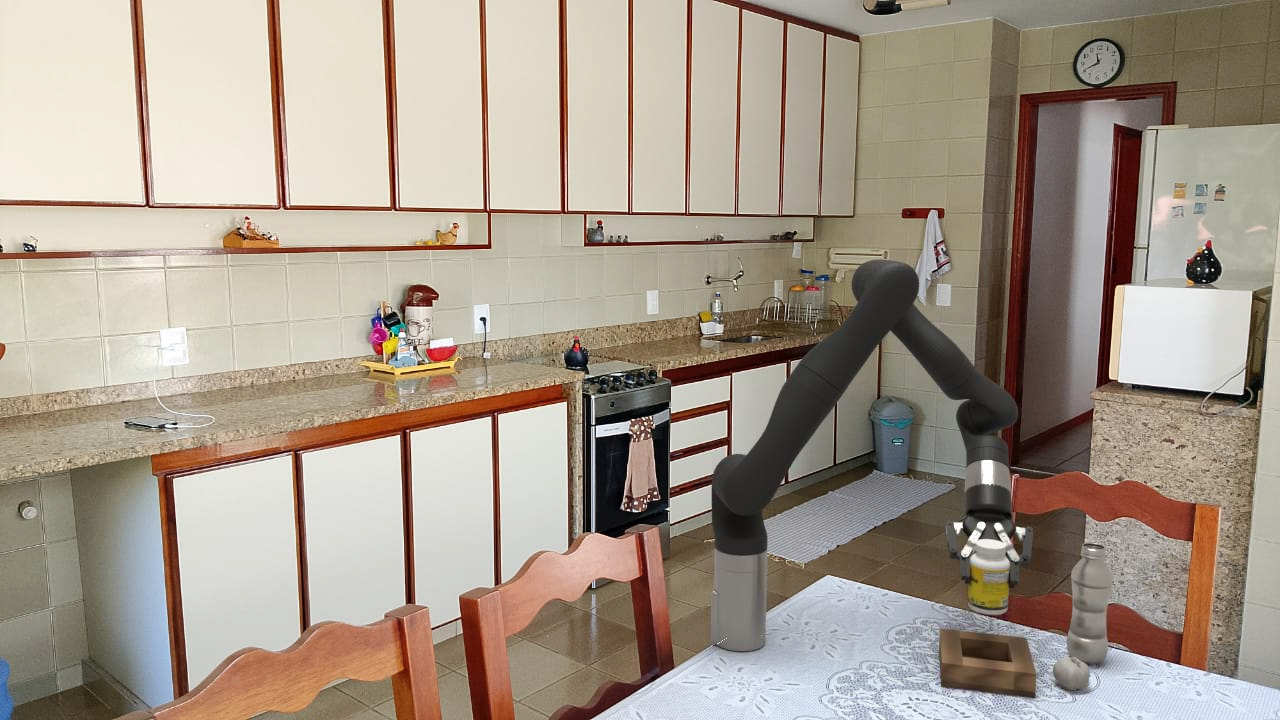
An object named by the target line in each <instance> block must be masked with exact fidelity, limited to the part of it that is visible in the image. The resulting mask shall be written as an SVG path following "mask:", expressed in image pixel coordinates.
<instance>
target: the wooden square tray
mask: <svg viewBox="0 0 1280 720" xmlns="http://www.w3.org/2000/svg"><path fill="white" fill-rule="evenodd" d="M938 641H939V642H938V657H939V659H938V660H939V672H940V673H939V677H940V687H942V688H948V689H949V688H951V689H958V690H966V691H975V692H980V693H983V692H984V693H990V694H998V695H1005V696H1006V695H1007V696H1015V697H1023V698H1030V699H1036V688H1037V671H1036V667H1035V665H1034V659H1033V656H1032V652H1031V650H1030V649H1031V648H1030V646H1029V642H1028V641H1029V640H1028V639H1027V637H1024V636H1015V635H1014V636H1013V635H1007V634H1006V635H1005V634H996V633H990V632H988V633H987V632H980V631H979V632H977V631H969V630H962V629H961V630H960V629H950V628H943V627H941V628H939V640H938Z"/></svg>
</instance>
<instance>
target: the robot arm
mask: <svg viewBox="0 0 1280 720" xmlns="http://www.w3.org/2000/svg"><path fill="white" fill-rule="evenodd" d="M919 278H920V277H919V275H918V273H917V271H916V270H915V269H914V267H912V266H911V265H910V264H908V263H906V262H901V261H897V260H889V259H871V260H867V261H865V262H863V263H862V264H860V265H859V266H858V267H857V268H856V269H855V271H854V273H853V275H852V278H851V292H852V294H853V297H854V298H855V300H856V302H857V303H856V305H855V306H854V308H853V309H852V311H851V312H850V313H849V314H848V316H847V317H846V318H845V320H844V321H843V322H842V323H841V324H840V325H839V326H838V327H837V328H836V329H835V330H833V331H832V332H831V333H829V334H828V335H827V336H826V337H824V338H823V339H822V340H821V341H819V342H818V343H817V344H816V345H815V346H814V347H812V348H811V349H810V350H809V351H808V352H807V353H806V354H805V355H804V356H803V357H802V358H801V360H800V361H798V364H797V365H796V366H795V367H794V369H793V370H792V372H791V373H790V375H788V377H787V379H786V380H785V381H784V384H783V385H782V386H781V389H780V391H779V393H778V395H777V398H776V400H775V402H774V404H773V408H772V411H771V415H770V417H769V419H768V422H767V424H766V427H765V429H764V430H763V432H762V434H761V436H760V437H759V438H758V440H757V441H756V443H755V444H754V445H753V446H752V447H751V449H750V450H749V451H748V453H747V454H743V453H742V454H741V453H734V454H733V453H732V454H730V455H727V456H725V457H723V458H722V459H721V460H720V461H719V462H718V463H717V465H716V466H715V468H714V469H713V474H712V477H711V525H712V527H711V528H712V532H713V536H714V537H713V538H714V567H713V568H714V569H713V570H714V572H713V573H714V574H713V575H714V576H713V579H714V580H713V582H714V583H713V589H712V590H711V595H710V597H711V598H710V599H711V600H710V601H711V602H710V605H711V606H710V645H714V646H718V647H720V648H722V649H725V650H729V651H732V652H733V651H735V652H751V651H755V650H759V649H761V648H762V647H764V646H765V644H766V635H767V628H766V627H767V589H768V584H767V583H768V582H767V581H768V579H767V578H768V533H767V529H766V526H765V522H764V518H763V517H764V516H763V510H764V509H766V507H767V506H768V505H769V504H770V502H771V501H772V500H773V498H774V496H775V495H776V493H777V491H778V490H779V488H780V486H781V484H782V483H783V480H784V479H785V477H786V476H787V474H788V472H789V471H790V469H791V467H792V465H793V463H794V462H795V460H796V459H797V457H798V455H799V454H800V452H802V451H803V449H804V448H805V446H806V445H807V444H808V443H809V441H810V440H811V439H812V437H813V436H814V435H815V433H816V431H817V430H818V429H819V427H820V426H821V425H822V423H824V420H825V419H826V418H827V417H828V416H829V414H830V413H831V412H832V411H833V409H834V408H835V406H836V404H837V403H838V402H839V401H840V400H841V398H842V396H843V395H844V393H845V392H846V391H847V389H848V387H849V386H850V384H851V383H852V381H853V380H854V379H855V377H856V376H857V375H858V373H859V372H860V371H861V369H862V368H863V366H864V365H865V363H866V362H867V361H868V359H869V358H870V356H871V355H872V354H873V352H874V351H875V349H876V348H877V347H878V345H879V344H880V343H881V342H882V340H883V339H884V338H885V337H886V336H887V335H888V334H889V332H891V333H892V334H893V335H894V336H895V337H896V339H898V340H899V341H900V343H902V345H904V347H905V348H906V349H907V350H908V352H910V353H911V355H913V356H912V357H914V358H915V360H916V361H917V362H918V363H919V364H920V365H921V367H922V368H923V369H924V370H925V371H926V372H927V375H929V376H930V378H931V379H932V381H934V382H935V384H936V385H937V386H938V387H939V389H940V391H942V393H943V394H944V395H945V396H946V397H947V398H948V399H950V400H953V401H962V400H963V401H962V402H961V403H960V404H959V406H958V408H957V410H956V414H955V420H956V424H957V426H958V429H959V431H960V435H961V438H962V441H963V445H964V448H965V451H966V452H965V455H966V458H965V459H966V461H965V463H966V465H965V466H966V470H965V478H964V489H963V491H964V519H963V521H962V522H954V520H952V519H948V520H947V521H946V524H945V535H946V542H947V549H948V550H947V551H948V552H947V553H948V557H949V559H952V560H954V559H955V560H957V561H959V562H960V564H959V565H960V571H959V573H960V574H959V575H960V576H959V577H960V580H961V581H964V585H965V584H966V585H969V583H970V558H971V556H972V555H973V554H975V552H976V551H975V543H976V541H978V540H981V539H991V540H997V541H1000V542H1003V543H1004V544H1005V545H1006V554H1005V555H1004V556H1005V557H1006V558H1007V559H1008V560H1009V562H1010V577H1009V589H1015V586H1018V585H1019V582H1020V566H1029V565H1030V560H1031V558H1032V552H1033V551H1032V550H1033V539H1034V528H1033V527H1032V526H1029V525H1028V526H1026V527H1019V526H1016V524H1015V522H1014V520H1013V499H1012V497H1013V496H1012V495H1013V494H1012V480H1011V479H1012V478H1011V475H1010V464H1009V463H1010V462H1009V460H1010V459H1009V457H1010V456H1009V454H1010V453H1009V447H1008V444H1007V442H1006V441H1005V440H1004V439H1003V438H1002V437H1000V436H997V435H991V434H993V433H995V432H999V431H1002V430H1005V429H1007V428H1010V427H1012V426H1013V425H1015V423H1016V422H1017V420H1018V417H1019V409H1018V405H1017V403H1016V401H1015V399H1014V397H1012V395H1011V394H1010V393H1009V392H1008V391H1007V390H1006V389H1004V388H1003V387H1002V386H1000V385H999V384H997V383H996V382H995V381H993V380H991V379H990V378H989V377H987V376H986V375H984V374H983V373H982V372H980V371H979V370H978V369H977V368H976V367H975V366H974V364H973V363H972V362H971V361H970V359H969V358H968V356H967V355H965V353H964V352H963V351H962V350H961V349H960V347H959V346H958V345H957V344H956V343H955V342H954V341H953V340H952V339H951V338H950V337H949V336H947V334H945V333H944V332H943V331H942V330H940V329H939V328H938V327H937V326H936V325H934V323H932V321H930V320H929V319H928V318H927V317H926V316H925V315H924V314H923V313H922V312H921V311H920V310H919V309H918V308H917V306H916V305H915V304H914V303H915V301H916V300H917V297H918V295H919V291H920V279H919ZM964 400H965V401H964ZM961 531H963V533H964V534H965V535H966V536H967V538H968V540H967V541H966V543H965V545H964V547H963V549H960V548H958V543H957V537H958V536H959V535H960V532H961ZM1015 535H1016V536H1018V540H1019V541H1020V542H1022V553H1021V554H1018V553H1017V551H1016V549H1015V548H1014V543H1012V541H1011V539H1012V538H1013V537H1014V536H1015ZM726 638H727V639H726ZM724 639H725V640H724ZM722 640H723V641H722ZM721 641H722V642H721ZM719 642H720V643H719ZM717 643H719V644H717ZM715 644H717V645H715ZM719 645H720V646H719Z"/></svg>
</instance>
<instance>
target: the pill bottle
mask: <svg viewBox="0 0 1280 720" xmlns="http://www.w3.org/2000/svg"><path fill="white" fill-rule="evenodd" d="M1005 554H1006V545H1005V544H1004V543H1003V542H1000V541H997V540H991V539H981V540H978V541H976V543H975V551H974V553H973V554H972V555H971V557H970V583H969V584H968V589H967V591H968V593H967V605H968V607H969V608H970V610H972V611H974V612H976V613H979V614H981V615H982V614H983V615H988V616H989V615H990V616H999V615H1003V614H1004V613H1007V611H1008V608H1009V593H1010V588H1009V577H1010V562H1009V560H1008V559H1007V558H1006V557H1005V556H1004V555H1005Z"/></svg>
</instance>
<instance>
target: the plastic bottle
mask: <svg viewBox="0 0 1280 720" xmlns="http://www.w3.org/2000/svg"><path fill="white" fill-rule="evenodd" d="M1080 556H1081V557H1082V558H1081V559H1080V560H1079V561H1078V562H1077V563H1076V564H1075V565H1074V567H1072V569H1071V574H1070V577H1071V578H1070V579H1071V582H1070V583H1071V592H1072V614H1071V619H1070V627H1069V629H1068V633H1067V637H1066V643H1065V644H1066V649H1067V650H1066V651H1067V653H1068V655H1069V656H1070V657H1075V658H1077V659H1079V660H1080V661H1082V662H1084V663H1085V664H1094V665H1097V664H1100V663H1103V662H1104V660H1106V658H1107V655H1108V652H1109V641H1108V636H1107V612H1108V611H1107V610H1108V604H1109V598H1110V594H1111V590H1112V585H1113V575H1112V572H1111V571H1110V568H1109V566H1108V565H1107V564H1106V563H1105V562H1104V560H1106V546H1105V545H1103V544H1100V543H1096V542H1095V543H1094V542H1085V543H1084V542H1083V543H1082V545H1081V551H1080Z"/></svg>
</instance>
